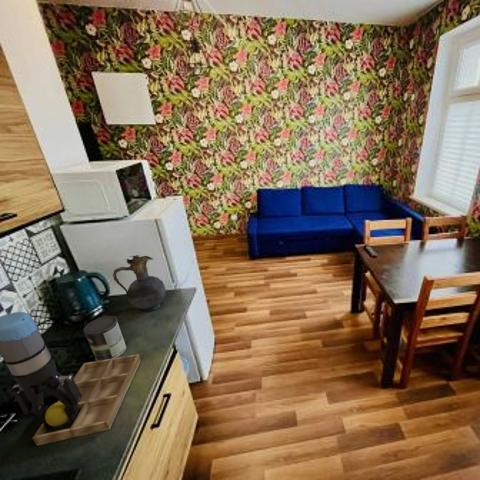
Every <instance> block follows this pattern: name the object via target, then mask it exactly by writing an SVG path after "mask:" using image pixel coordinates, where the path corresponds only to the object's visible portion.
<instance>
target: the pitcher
mask: <svg viewBox="0 0 480 480" xmlns="http://www.w3.org/2000/svg"><path fill="white" fill-rule="evenodd" d="M128 257H132V258H131V259H130V258H127V259H126V263H127V264H128V266H120V267H117V268H115V269H114V270H113V272H112V277H113V281H115V283H116V284H117V285H119V287H120V288H122V289H123V290H124V291H125V297H124V300H123V301H124V302H126V300H128V302H129V304H131V306H133V307H135V308H136V309H139V310H140V309H141V310H142V312H143V313H150V312H154V311H156V310H158V309H159V308H160V307H161V303H162V302H163V301H164V299H165V297H166V291H167V289H166V286H165V283H164V282H163V280H162V279H160V278H159V277H157V276H153V275H149V272H148V267H147V263H148V261H153V260H154V258H153V257H151V256H149V255H143V256H140V254H136V255H130V256H128ZM121 271H128V272H129V271H131V272H133V274H134V275H135V278H136V279H135V280H133V281H132V282H131V283H130V285H129V286H128V288H126V287H125V286H124V285H123V284H122V283H121V282H120V281H119V279H118V276H117V274H118V273H119V272H121Z"/></svg>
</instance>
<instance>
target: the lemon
mask: <svg viewBox="0 0 480 480" xmlns="http://www.w3.org/2000/svg"><path fill="white" fill-rule="evenodd" d="M48 407H49V408H48V409H47V411H46V413H45V419H46V422H47V423H48V424H49V425H50V426H60V425H62V424H64V423H65V422H66V421H68V419H69V418H68V416H67V414H66V412H65V410H64V409H65V407H66V406H65V405H64V404H62V403H61V402H58V401H57V402H54V403H53V404H51V405H50V406H48Z"/></svg>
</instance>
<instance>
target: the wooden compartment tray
mask: <svg viewBox="0 0 480 480" xmlns="http://www.w3.org/2000/svg"><path fill="white" fill-rule="evenodd" d="M140 363H141V357H140V353H136V354H130V355H126V356H125V355H124V356H118V357H117V358H113V359H107V360H101V361H97V360H95V361H89V362H83V364H82V366H81V367H80V368H79V370H78V371H77V373H75V375H74V376H73V380H74V381H75V383H76V385H77V387H78V389H79V391H80V392H81V394H82V398H81V399H80V401H79V403H78V404H77V405H78V407H79V409H78V410H77V411H78V413H79V414H78V416H77V418H76V420H75V421H74V423H73V424H71V422H70V420H69V419H68V421H66V422H65V423H64V424H62V425H60V426H51V427H50V429H46V427H45V426H44V424H43V423H41V425H40V426H39V428H38V429H37V431H36V432H35V434H34V436H32V439H31V440H32V441H33V442H34V444H35V445H36V446H37V447H38V446H42V445H47V444H51V443H56V442H60V441H64V440H69V439H74V438H78V437H82V436H87V435H91V434H97V433H100V432H104V431H108V430H111V427H112V426H113V423H114V420H115V419H116V417H117V414H118V412H119V410H120V408H121V405H122V403H123V402H124V399H125V397H126V394H127V392H128V390H129V387H130V385H131V384H132V381H133V379H134V377H135V375H136V372H137V370H138V368H139V366H140ZM57 402H60V401H59V400H58V399H57Z"/></svg>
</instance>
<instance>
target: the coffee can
mask: <svg viewBox="0 0 480 480" xmlns="http://www.w3.org/2000/svg"><path fill="white" fill-rule="evenodd" d="M83 334H84V335H85V337H86V339H87V342H88V344H89V347H90V349H91V351H92V353H93V356H94V360H95V361H101V360H107V359H113V358H118V357H121V355H122V354H124V352H125V351H126V350H127V344H126V343H125V339H124V337H123V333H122V330H121V328H120V325H119V322H118V318H117V317H116V316H114V315H105V316H101V317H97V318H96V319H94V320H92V321H90V322H88V323H87V324H86V325H85V326H84V328H83Z"/></svg>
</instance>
